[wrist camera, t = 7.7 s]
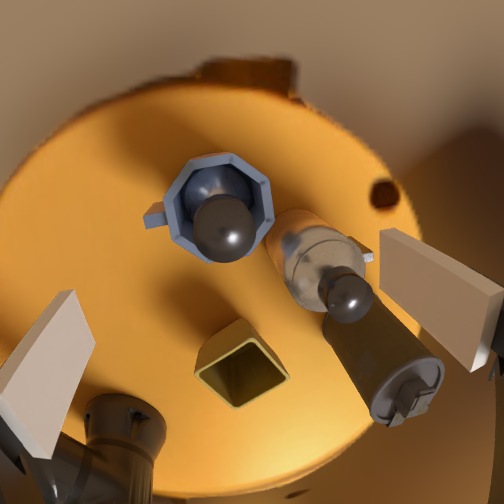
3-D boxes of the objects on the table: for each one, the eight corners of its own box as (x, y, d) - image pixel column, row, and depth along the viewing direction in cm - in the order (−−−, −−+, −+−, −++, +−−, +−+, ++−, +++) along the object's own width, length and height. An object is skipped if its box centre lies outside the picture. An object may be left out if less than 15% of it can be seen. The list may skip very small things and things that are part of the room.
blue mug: (168, 235, 39) (155, 273, 28) (153, 164, 36) (131, 173, 25) (257, 219, 40) (278, 249, 29) (246, 146, 37) (264, 148, 26)
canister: (329, 290, 45) (399, 379, 26) (389, 289, 46) (469, 363, 28) (316, 352, 48) (365, 449, 29) (373, 347, 50) (433, 429, 31)
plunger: (191, 233, 34) (184, 289, 21) (179, 172, 32) (161, 191, 19) (252, 221, 34) (282, 270, 21) (243, 160, 32) (269, 171, 19)
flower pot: (243, 299, 43) (253, 336, 35) (277, 340, 46) (292, 379, 38) (192, 333, 44) (191, 374, 36) (229, 370, 47) (235, 411, 39)
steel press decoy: (269, 273, 43) (308, 352, 26) (261, 214, 40) (301, 266, 23) (339, 258, 43) (408, 323, 27) (336, 202, 41) (414, 242, 24)
